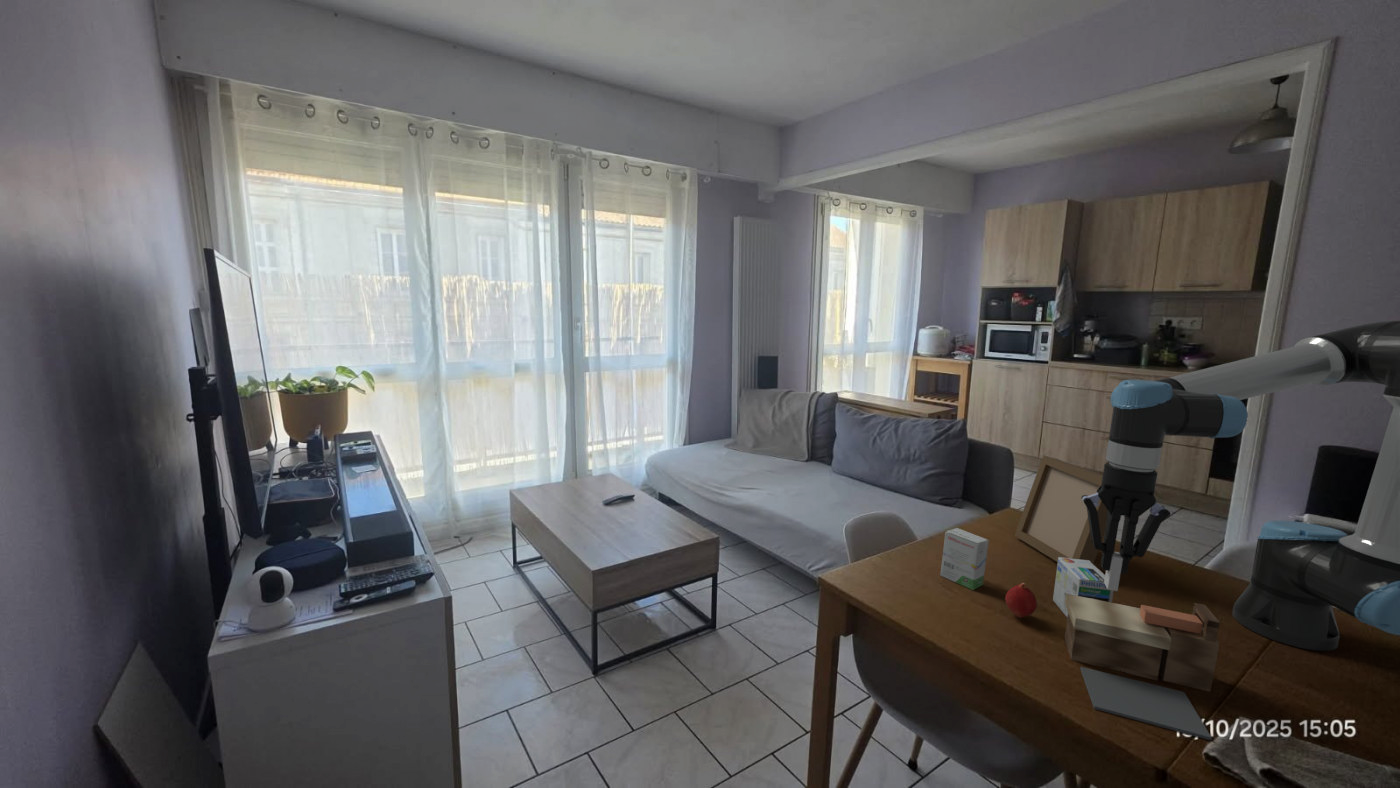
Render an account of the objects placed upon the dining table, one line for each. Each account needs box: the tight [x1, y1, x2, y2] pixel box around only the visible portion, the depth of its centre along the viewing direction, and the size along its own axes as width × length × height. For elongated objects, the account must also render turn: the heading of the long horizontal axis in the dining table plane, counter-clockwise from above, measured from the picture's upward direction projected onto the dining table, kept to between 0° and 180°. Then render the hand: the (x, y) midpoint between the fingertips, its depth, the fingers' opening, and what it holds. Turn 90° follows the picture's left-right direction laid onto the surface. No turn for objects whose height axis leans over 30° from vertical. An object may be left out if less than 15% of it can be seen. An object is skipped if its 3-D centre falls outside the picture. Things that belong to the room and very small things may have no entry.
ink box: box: [939, 527, 990, 591], centre depth 130 cm, size 9×5×12 cm, turn 34°
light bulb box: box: [1052, 557, 1115, 618], centre depth 116 cm, size 11×7×11 cm, turn 168°
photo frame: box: [1014, 455, 1108, 565], centre depth 143 cm, size 15×22×25 cm
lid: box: [1065, 594, 1171, 650], centre depth 101 cm, size 14×10×2 cm
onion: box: [1004, 582, 1038, 619], centre depth 115 cm, size 6×6×8 cm
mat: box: [1080, 666, 1213, 741], centre depth 91 cm, size 15×11×1 cm
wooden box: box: [1064, 602, 1221, 692], centre depth 100 cm, size 20×7×13 cm, turn 65°
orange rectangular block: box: [1139, 604, 1203, 634], centre depth 97 cm, size 8×3×2 cm, turn 65°
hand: (1110, 586), depth 100 cm, fingers closed
